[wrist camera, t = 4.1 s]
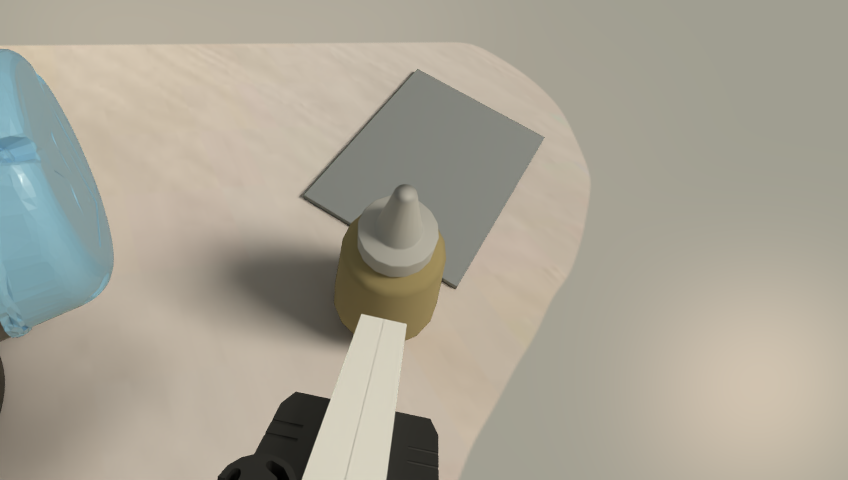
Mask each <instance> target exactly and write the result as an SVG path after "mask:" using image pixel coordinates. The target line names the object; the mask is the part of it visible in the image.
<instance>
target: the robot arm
mask: <svg viewBox="0 0 848 480" xmlns="http://www.w3.org/2000/svg"><path fill="white" fill-rule="evenodd" d="M113 262H114V254H113V244H112V238H111V233H110V228H109V224H108V220H107V216H106V213H105V209H104V206H103V203H102V200H101V196H100V193H99V191H98V188H97V185H96V182H95V180H94V177H93V175H92V172H91V169H90V167H89V165H88V162H87V160H86V157H85V155H84V153H83V151H82V148H81V146H80V144H79V142H78V140H77V138H76V135H75V133H74V131H73V129H72V127H71V125H70V123H69V121H68V119H67V118H66V116H65V114H64V112H63V110H62V108H61V106H60V105H59V103H58V101H57V99H56V98H55V96H54V95H53V93H52V91H51V90H50V88H49V87H48V85H47V84H46V83H45V81H44V80H43V79H42V78H41V77H40V76H39V75H37V74H36V72H35V70H34V69H33V67H32V66H31V64H30V63H29V62H28V61H27V60H26V59H25V58H24V57H22V56H21V55H20V54H18V53H16V52H14V51H11V50H8V49H0V341H2V340H5V339H8V338H10V337H12V338H14V337H17V338H18V337H21V336H23V335H25V334H26V333H28V332H29V331H31V329H32V327H33V326H35V325H38V324H40V323H42V322H45V321H47V320H49V319H52V318H54V317H56V316H58V315H61V314H63V313H65V312H68V311H70V310H72V309H75V308H77V307H79V306H82V305H84V304H86V303H88V302H90V301H91V300H93V299H94V298H95V297H97V296H98V295H99V294H100V293H101V292H102V291H103V290H104V288H105V287H106V285H107V284H108V282H109V280H110V277H111V274H112V270H113ZM406 327H407V324H405V323H400V322H396V321H391V320H387V319H382V318H378V317H373V316H369V315H364V314H361V316H360V319H359V322H358V325H357V328H356V330H355V333H354V336H353V339H352V341H351V344H350V347H349V350H348V353H347V355H346V358H345V361H344V364H343V366H342V369H341V372H340V375H339V378H338V380H337V383H336V386H335V389H334V391H333V394H332V397H331V399H328V398H323V397H318V396H313V395H309V394H304V393H299V392H295V393H294V394H292V395H291V396H290V397H289V398H287V399H286V400H285V401H283V402H282V403H281V404H280V406H279V408H278V410H277V412H276V414H275V416H274V418H273V420H272V422H271V423H270V425H269V427H268V429H267V431H266V434H265V435H264V437H263V439H262V440H261V442H260V444H259V446H258V448H257V450H256V452H255V454H253V455H249V456H245V457H241V458H239V459H238V460H236V461H234V462H233V463H231V464H229V465H228V466H227V467H226V468H225V469H224V470H223V471H222V473H221V474H220V475H219V476H218V480H439V476H438V434H437V432H436V430H435V428H434V426H433V424H432V422H431V419H428V418H423V417H419V416H414V415H409V414H405V413H400V412H395V410H396V402H397V395H398V387H399V380H400V372H401V365H402V357H403V349H404V342H405V334H406ZM4 390H5V376H4V369H3V365H2V361H1V358H0V411H1V408H2V403H3V398H4Z"/></svg>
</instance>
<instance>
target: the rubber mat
mask: <svg viewBox="0 0 848 480" xmlns="http://www.w3.org/2000/svg"><path fill="white" fill-rule="evenodd" d="M544 138H545V137H543V136H541V135H539V134H537V133H536V132H534V131H532V130H530V129H528V128H526V127H524V126H523V125H521V124H519V123H517V122H515V121H513V120H511V119H510V118H508V117H506V116H504V115H502V114H500V113H498V112H497V111H495V110H493V109H491V108H489V107H487V106H485V105H484V104H482V103H480V102H478V101H476V100H474V99H472V98H471V97H469V96H467V95H465V94H463V93H461V92H459V91H458V90H456V89H454V88H452V87H450V86H448V85H446V84H445V83H443V82H441V81H439V80H437V79H435V78H433V77H432V76H430V75H428V74H426V73H424V72H422V71H420V70H419V69H417V70H416V71H415V72H414V74H413V75H412V76H411V77H410V78H409V79H408V80H407V81H406V82H405V83H404V85H403V86H402V87H401V88H400V89H399V90H398V91H397V92H396V93H395V95H394V96H393V97H392V98H391V99H390V100H389V101H388V102H387V103H386V104H385V106H384V107H383V108H382V109H381V110H380V111H379V112H378V113H377V114H376V116H375V117H374V118H373V119H372V120H371V121H370V122H369V123H368V124H367V126H366V127H365V128H364V129H363V130H362V131H361V132H360V133H359V134H358V135H357V137H356V138H355V139H354V140H353V141H352V142H351V143H350V144H349V145H348V147H347V148H346V149H345V150H344V151H343V152H342V153H341V154H340V155H339V156H338V158H337V159H336V160H335V161H334V162H333V163H332V164H331V165H330V166H329V168H328V169H327V170H326V171H325V172H324V173H323V174H322V175H321V176H320V178H319V179H318V180H317V181H316V182H315V183H314V184H313V185H312V186H311V187H310V189H309V190H308V191H307V192H306V193H305V194H304V198H305V199H306V200H308V201H310V202H311V203H313V204H315V205H316V206H318V207H320V208H321V209H323V210H325V211H327V212H328V213H330V214H332V215H333V216H335V217H337V218H338V219H340V220H342V221H343V222H345V223H347V224H348V225H350V224H351V223H352V222H353V221H354V220H355V219H356V218H358V217H359V216H360V215H361V214H362V213H363V211H364V209H365V208H367V207H368V206H369V205H370V204H371V203H373V202H374V201H375V200H377V199H381V198H384V197H387V196H391V195H392V193H393V192H394V190H395V188H396V187H398V186H399V185H402V184H408V185H411V186H413V187H414V188H415V189H416V191H417V194H418V201H420V202H421V203H422V204H423V205H424V206H426V207H427V208H428V209H429V210H430V211H431V212H432V214H433V216H434V218H435V220H436V221H437V223H438V230H439V231H440V233H441V235H442V237H443V239H444V241H445V252H446V262H445V267H444V271H443V276H442V281H443V282H445V283H447V284H448V285H450V286H452V287H453V288H455V289H456V288H457V286H458V284H459V283H460V281H461V279H462V278H463V276H464V274H465V272H466V271H467V269H468V267H469V266H470V264H471V262H472V260H473V259H474V257H475V255H476V254H477V252H478V250H479V249H480V247H481V245H482V243H483V242H484V240H485V238H486V237H487V235H488V233H489V231H490V230H491V228H492V226H493V225H494V223H495V221H496V220H497V218H498V216H499V214H500V213H501V211H502V209H503V208H504V206H505V204H506V202H507V201H508V199H509V197H510V196H511V194H512V192H513V191H514V189H515V187H516V185H517V184H518V182H519V180H520V179H521V177H522V175H523V173H524V172H525V170H526V168H527V167H528V165H529V163H530V162H531V160H532V158H533V156H534V155H535V153H536V151H537V150H538V148H539V146H540V144H541V143H542V141H543V139H544Z"/></svg>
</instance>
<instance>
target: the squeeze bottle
mask: <svg viewBox="0 0 848 480" xmlns="http://www.w3.org/2000/svg"><path fill="white" fill-rule="evenodd" d="M445 262H446V252H445V241H444V239H443V237H442V235H441V233H440V231H439V230H438V223H437V221H436V220H435V218H434V216H433V214H432V212H431V211H430V210H429V209H428V208H427V207H426V206H424V205H423V204H422V203H421V202H420V201H418V194H417V191H416V189H415V188H414V187H413V186H411V185H408V184H402V185H399V186H398V187H396V188H395V190H394V192H393V193H392V195H391V196H387V197H384V198H381V199H377V200H375V201H374V202H373V203H371V204H370V205H369V206H368V207H367V208H365V209H364V211H363V213H362V214H361V215H360V216H359V217H358V218H356V219H355V220H354V221H353V222H352V223H351V224H350V226H349V228H348V230H347V232H346V234H345V236H344V238H343V241H342V247H341V253H340V258H339V264H338V270H337V275H336V281H335V295H334V304H335V307H336V309H337V312H338V314H339V317H340V319H341V322H342V323H343V324H344V325H345V326H346V327H347V328H348V329H349V330H350V331H351V332H352V333H353V334H354V333H355V330H356V328H357V325H358V322H359V319H360V316H361V314H364V315H369V316H373V317H378V318H382V319H387V320H391V321H396V322H400V323H405V324H407V327H406V334H405V341H406V340H408V339H410V338H412V337H415V336H417V335H418V334H419V332H420V331H421V330H422V329H423V328H424V327H425V326H426V325H427V324H428V323H429V322H430V320H431V317H432V315H433V312H434V309H435V306H436V303H437V299H438V294H439V290H440V285H441V281H442V276H443V271H444V267H445Z"/></svg>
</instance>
